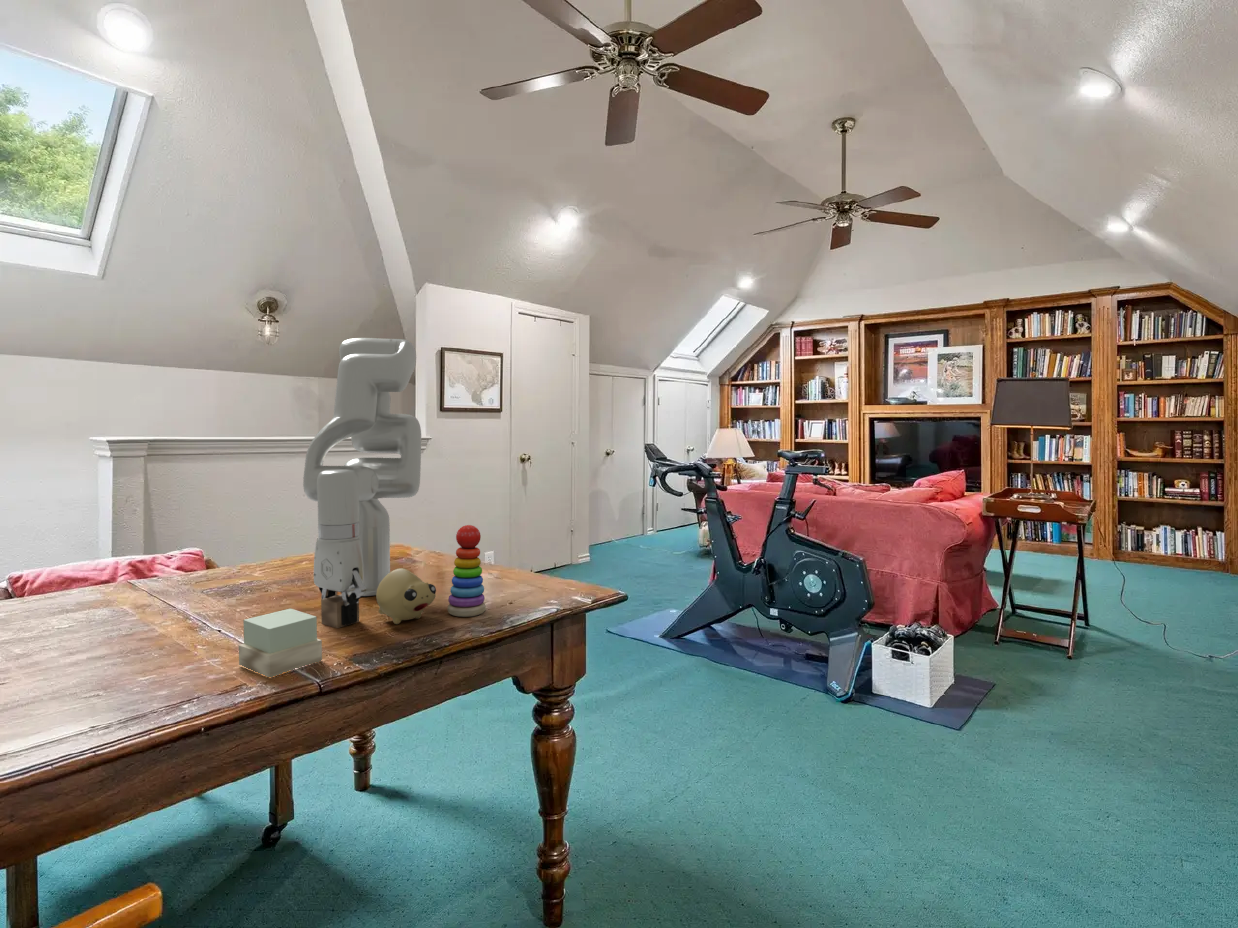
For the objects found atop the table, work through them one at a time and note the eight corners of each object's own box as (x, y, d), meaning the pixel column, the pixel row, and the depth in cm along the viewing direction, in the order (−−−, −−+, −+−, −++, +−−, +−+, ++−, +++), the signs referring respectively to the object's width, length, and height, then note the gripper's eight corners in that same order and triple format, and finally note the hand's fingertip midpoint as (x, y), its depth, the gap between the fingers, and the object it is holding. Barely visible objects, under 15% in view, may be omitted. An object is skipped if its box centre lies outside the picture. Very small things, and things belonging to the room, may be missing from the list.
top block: (244, 643, 108) (243, 619, 108) (290, 630, 115) (290, 608, 114) (269, 653, 104) (269, 629, 103) (317, 639, 110) (316, 616, 110)
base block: (239, 668, 108) (238, 644, 107) (291, 652, 115) (290, 630, 115) (270, 680, 103) (269, 656, 102) (322, 663, 110) (321, 640, 110)
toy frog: (404, 633, 125) (404, 578, 124) (367, 621, 132) (366, 569, 131) (445, 620, 133) (444, 569, 132) (407, 609, 140) (407, 561, 139)
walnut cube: (321, 623, 130) (321, 599, 130) (343, 617, 134) (343, 593, 134) (337, 628, 127) (336, 603, 127) (359, 621, 132) (358, 597, 131)
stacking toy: (476, 619, 134) (476, 529, 133) (440, 616, 136) (440, 527, 134) (491, 608, 142) (491, 523, 140) (457, 605, 143) (457, 521, 142)
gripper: (295, 529, 131) (297, 618, 132) (349, 539, 122) (351, 634, 123) (329, 525, 137) (331, 609, 138) (382, 533, 128) (384, 623, 129)
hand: (340, 620), depth 131 cm, fingers closed on walnut cube, 5 cm apart
